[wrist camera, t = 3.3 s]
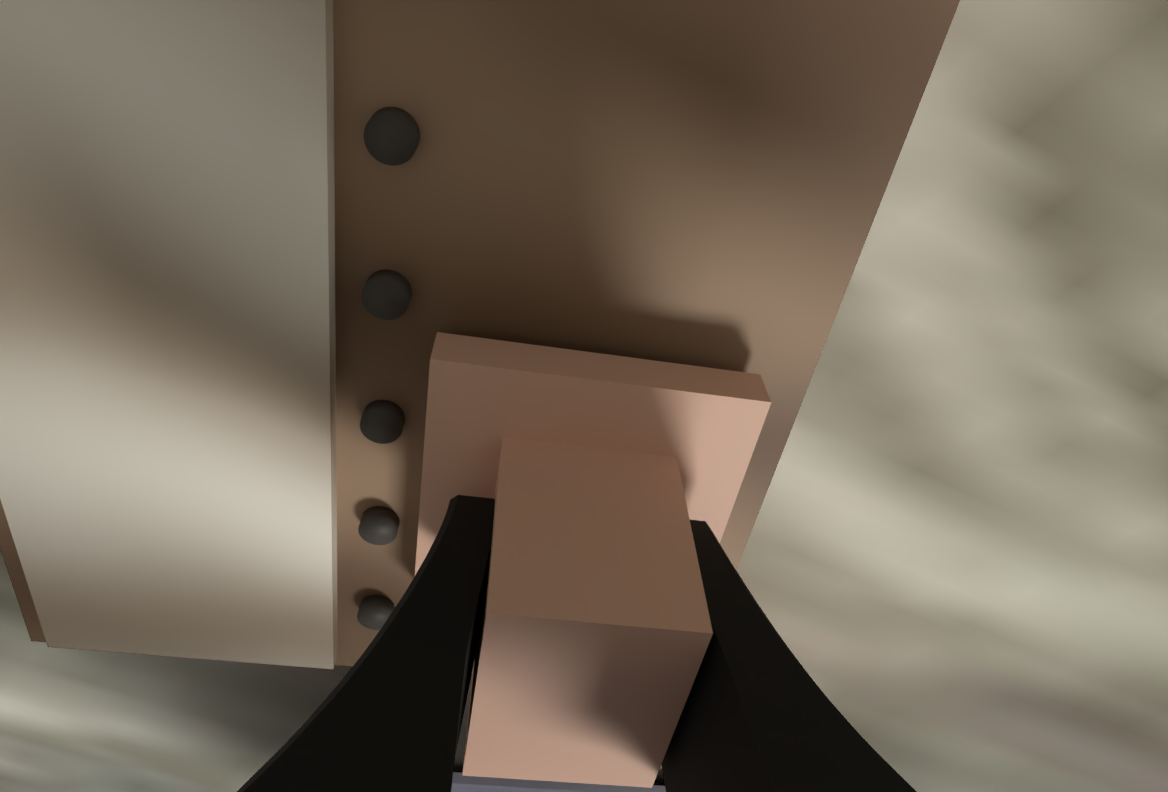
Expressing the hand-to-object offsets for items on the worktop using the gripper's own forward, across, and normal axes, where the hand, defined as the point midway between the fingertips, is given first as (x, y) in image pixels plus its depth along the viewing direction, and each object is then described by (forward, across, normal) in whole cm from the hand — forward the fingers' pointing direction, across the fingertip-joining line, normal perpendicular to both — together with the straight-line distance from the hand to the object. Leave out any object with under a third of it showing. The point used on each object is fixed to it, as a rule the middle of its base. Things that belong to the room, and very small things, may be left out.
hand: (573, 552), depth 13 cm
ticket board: (+3, +3, -2) cm, 5 cm away
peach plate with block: (+1, 0, 0) cm, 1 cm away
